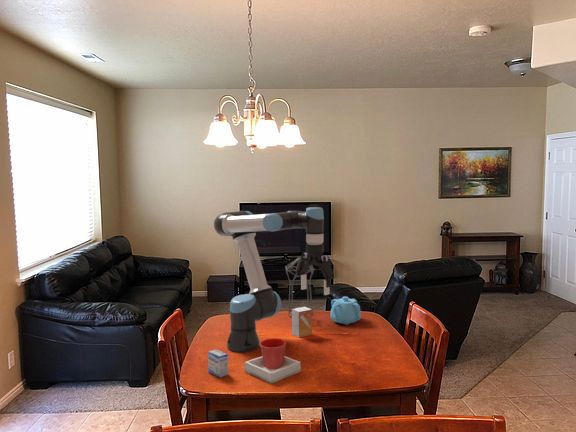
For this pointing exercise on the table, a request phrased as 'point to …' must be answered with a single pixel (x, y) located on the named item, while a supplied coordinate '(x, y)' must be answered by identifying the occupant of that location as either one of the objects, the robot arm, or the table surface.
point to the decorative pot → (345, 310)
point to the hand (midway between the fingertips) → (315, 291)
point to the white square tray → (272, 375)
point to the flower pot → (273, 352)
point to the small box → (302, 321)
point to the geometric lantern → (298, 280)
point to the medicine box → (218, 363)
